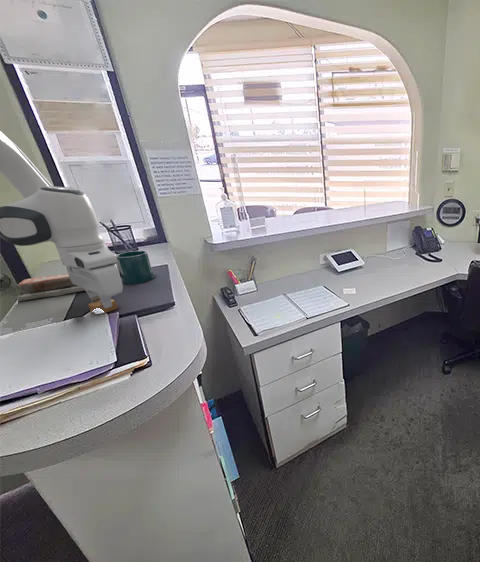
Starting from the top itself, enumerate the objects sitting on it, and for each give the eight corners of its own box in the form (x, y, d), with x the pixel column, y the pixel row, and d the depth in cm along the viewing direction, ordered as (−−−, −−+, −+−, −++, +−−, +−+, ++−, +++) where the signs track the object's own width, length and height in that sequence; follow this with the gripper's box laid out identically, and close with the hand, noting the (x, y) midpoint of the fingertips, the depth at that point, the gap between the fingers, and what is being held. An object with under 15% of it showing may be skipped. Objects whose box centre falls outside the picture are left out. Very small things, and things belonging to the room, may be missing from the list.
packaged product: (10, 286, 86) (23, 276, 93) (17, 302, 87) (30, 291, 95) (94, 274, 94) (100, 266, 102) (99, 289, 96) (104, 280, 104)
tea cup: (131, 285, 99) (123, 258, 96) (119, 281, 103) (110, 255, 99) (158, 277, 106) (151, 252, 103) (145, 274, 109) (138, 249, 106)
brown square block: (97, 315, 79) (94, 307, 79) (90, 312, 81) (87, 303, 80) (118, 308, 83) (115, 300, 82) (110, 305, 85) (108, 297, 84)
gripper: (51, 252, 79) (70, 301, 84) (87, 263, 70) (106, 318, 74) (82, 246, 84) (98, 293, 89) (119, 256, 75) (136, 308, 80)
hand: (102, 305), depth 82 cm, fingers closed on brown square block, 4 cm apart
